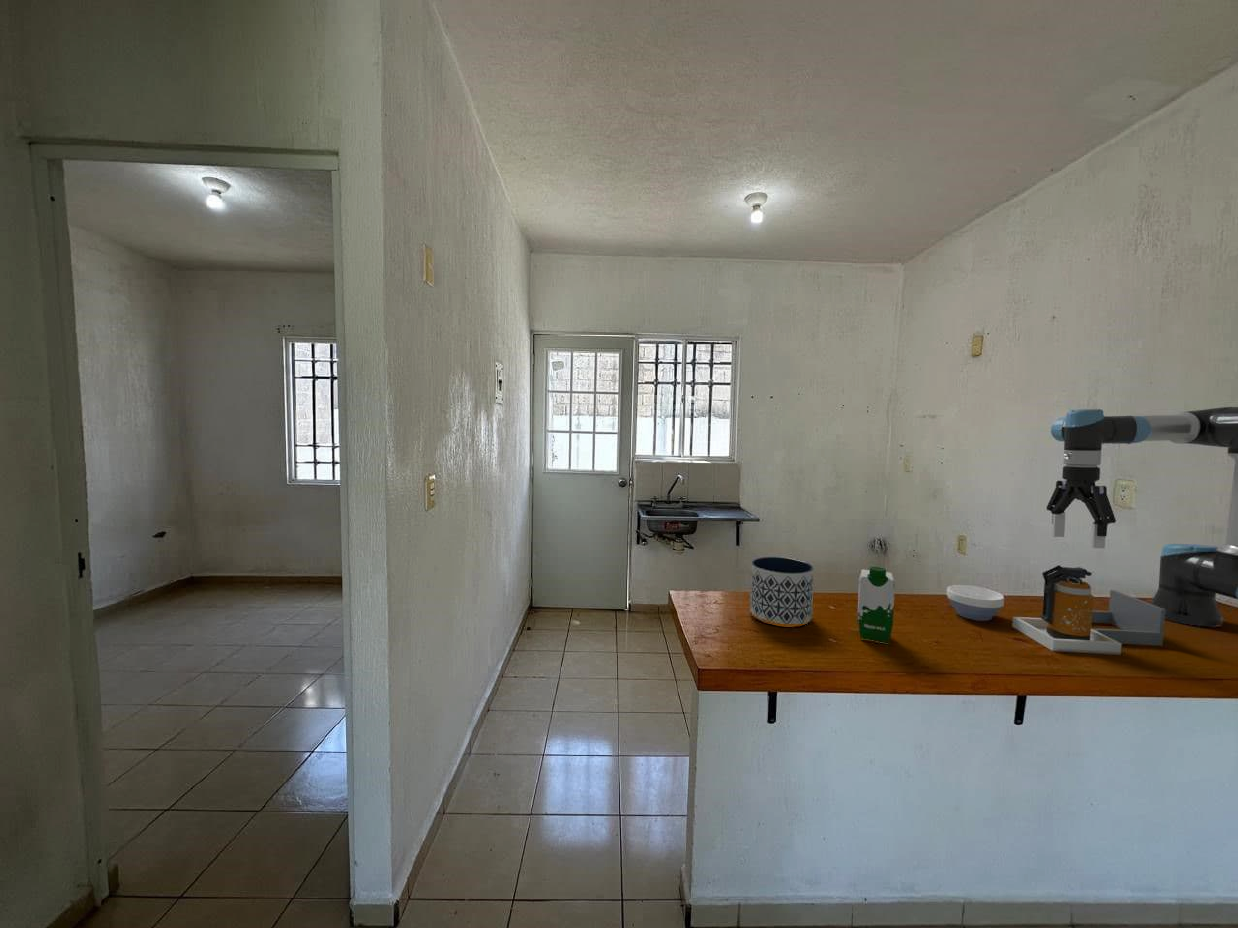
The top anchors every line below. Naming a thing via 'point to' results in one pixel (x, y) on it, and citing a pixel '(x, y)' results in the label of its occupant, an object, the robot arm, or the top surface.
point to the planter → (781, 590)
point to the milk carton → (876, 604)
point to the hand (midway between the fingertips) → (1077, 542)
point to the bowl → (975, 602)
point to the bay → (1131, 620)
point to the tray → (1038, 632)
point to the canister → (1067, 603)
